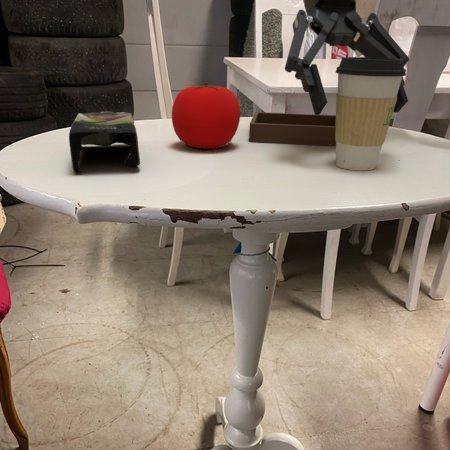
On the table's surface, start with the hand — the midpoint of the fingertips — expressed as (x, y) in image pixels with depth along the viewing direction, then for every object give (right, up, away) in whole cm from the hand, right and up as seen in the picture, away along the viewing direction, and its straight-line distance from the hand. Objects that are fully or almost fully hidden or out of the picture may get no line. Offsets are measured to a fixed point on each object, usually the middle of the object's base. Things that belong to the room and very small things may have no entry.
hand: (362, 108), depth 69 cm
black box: (-39, -6, +5) cm, 40 cm away
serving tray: (-6, +4, +24) cm, 25 cm away
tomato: (-24, -1, +14) cm, 28 cm away
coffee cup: (0, -7, +4) cm, 9 cm away
